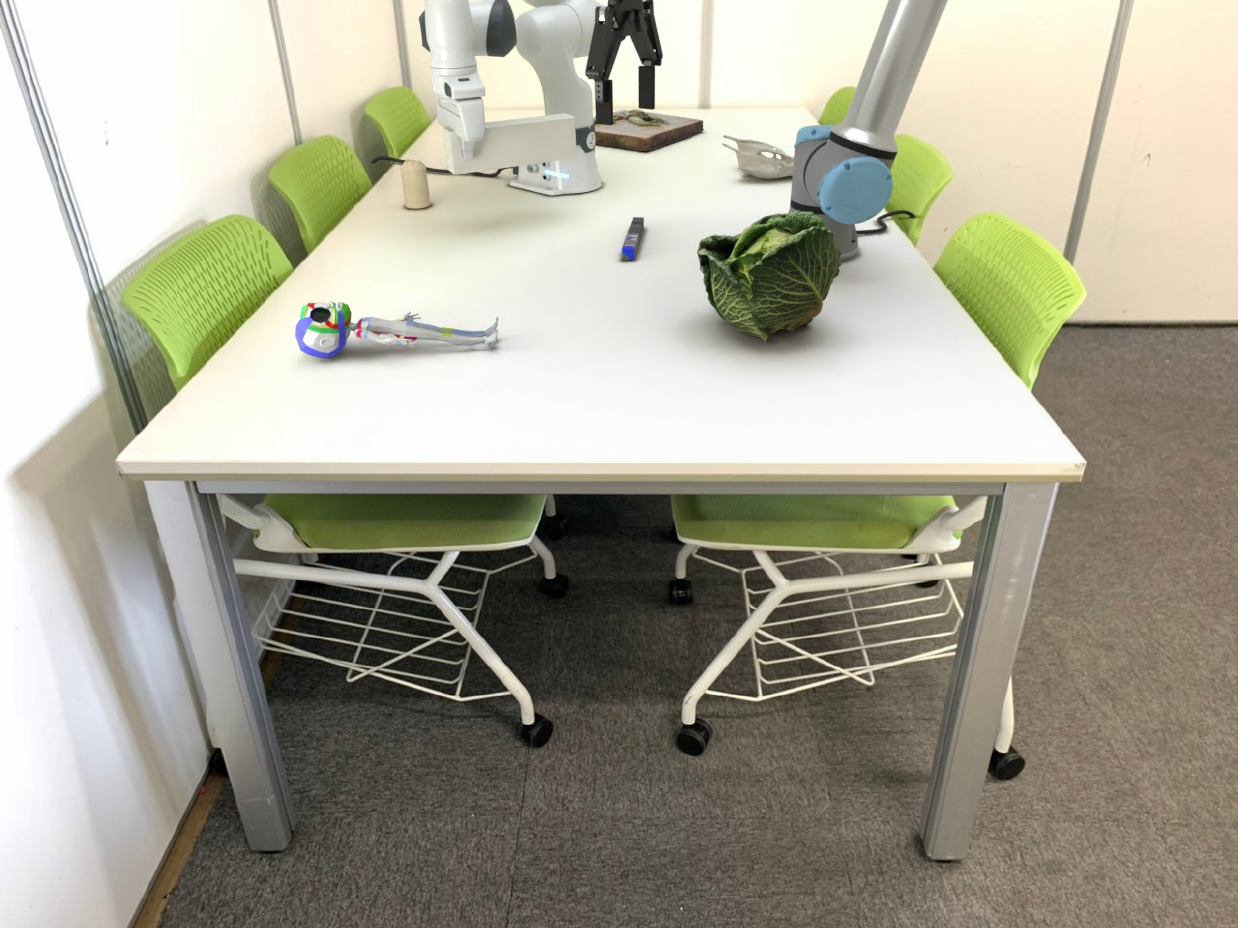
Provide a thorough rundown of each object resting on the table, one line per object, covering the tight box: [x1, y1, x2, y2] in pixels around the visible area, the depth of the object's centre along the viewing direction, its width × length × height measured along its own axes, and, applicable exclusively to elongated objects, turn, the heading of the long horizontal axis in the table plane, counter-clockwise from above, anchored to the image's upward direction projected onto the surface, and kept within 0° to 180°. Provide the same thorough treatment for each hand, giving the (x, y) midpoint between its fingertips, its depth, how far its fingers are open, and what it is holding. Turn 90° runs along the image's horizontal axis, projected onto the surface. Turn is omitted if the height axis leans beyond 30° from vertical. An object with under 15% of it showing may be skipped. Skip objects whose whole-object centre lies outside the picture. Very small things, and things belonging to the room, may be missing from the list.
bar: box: [441, 113, 577, 176], centre depth 182 cm, size 26×5×8 cm, turn 116°
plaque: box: [593, 108, 705, 152], centre depth 257 cm, size 30×7×30 cm
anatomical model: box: [721, 134, 794, 180], centre depth 217 cm, size 15×9×25 cm
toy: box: [293, 300, 499, 359], centre depth 136 cm, size 10×8×30 cm
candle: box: [399, 158, 431, 210], centre depth 200 cm, size 6×6×10 cm
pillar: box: [621, 216, 645, 261], centre depth 178 cm, size 2×2×20 cm
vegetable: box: [696, 210, 842, 342], centre depth 138 cm, size 20×19×20 cm
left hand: (463, 156), depth 179 cm, fingers closed on bar, 5 cm apart
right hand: (626, 116), depth 145 cm, fingers open, 13 cm apart
